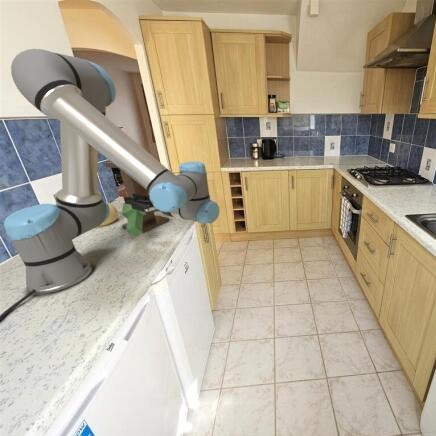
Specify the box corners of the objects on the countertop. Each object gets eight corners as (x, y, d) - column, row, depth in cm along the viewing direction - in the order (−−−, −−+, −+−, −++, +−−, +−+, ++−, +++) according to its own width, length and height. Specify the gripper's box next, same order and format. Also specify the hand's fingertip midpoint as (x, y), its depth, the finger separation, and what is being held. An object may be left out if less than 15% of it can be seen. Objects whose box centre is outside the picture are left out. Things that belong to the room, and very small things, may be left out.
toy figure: (129, 239, 91) (118, 231, 88) (132, 206, 107) (124, 198, 104) (146, 230, 92) (136, 221, 88) (147, 198, 108) (139, 190, 104)
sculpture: (83, 227, 113) (75, 206, 109) (106, 217, 124) (98, 197, 120) (104, 228, 111) (96, 207, 107) (125, 218, 122) (118, 198, 118)
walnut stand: (144, 232, 107) (123, 164, 95) (122, 227, 112) (100, 162, 100) (169, 220, 119) (154, 158, 107) (149, 216, 124) (132, 157, 112)
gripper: (160, 225, 78) (111, 215, 86) (195, 208, 91) (150, 201, 99) (154, 204, 75) (104, 195, 83) (191, 189, 88) (145, 183, 96)
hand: (129, 198), depth 91 cm, fingers open, 3 cm apart
